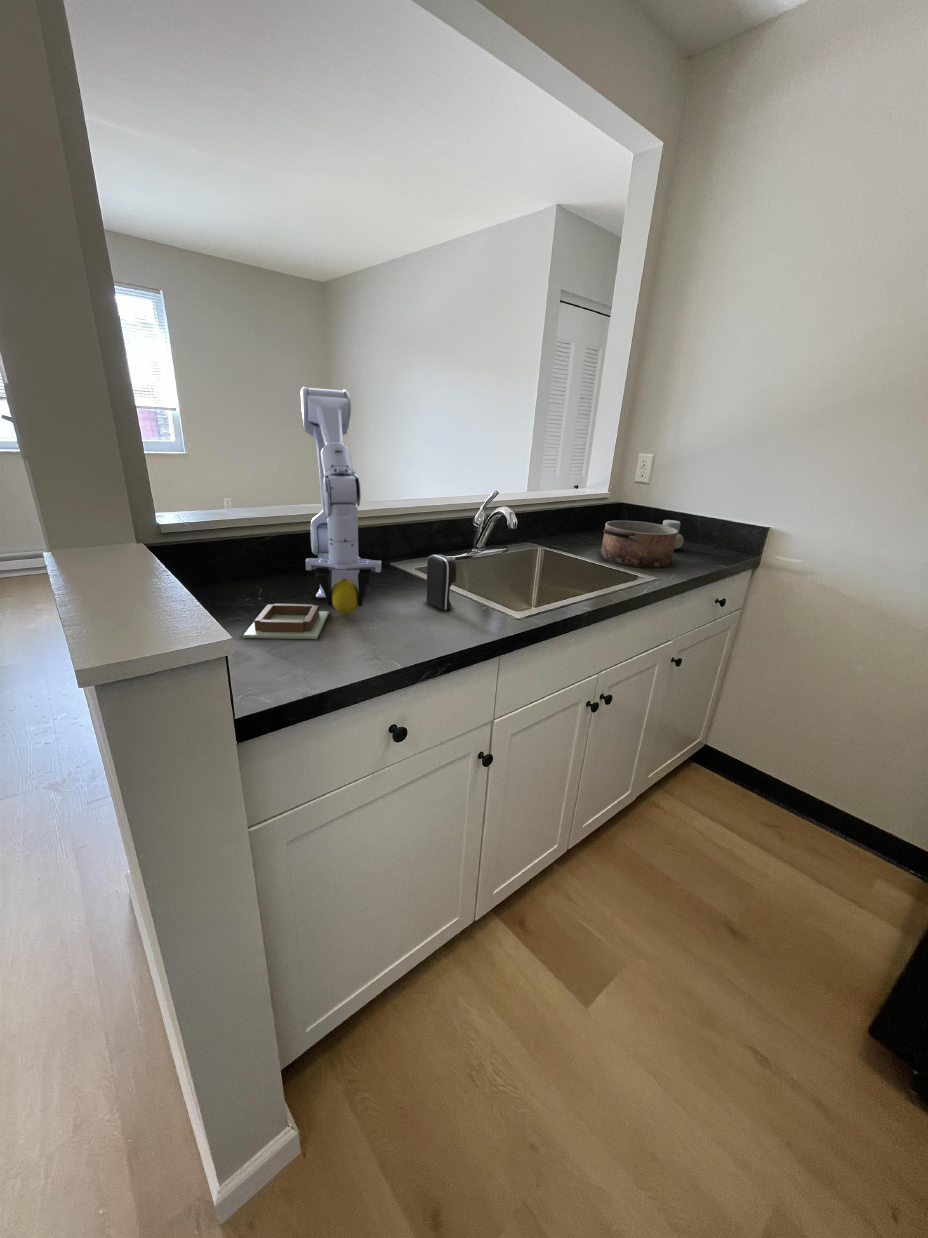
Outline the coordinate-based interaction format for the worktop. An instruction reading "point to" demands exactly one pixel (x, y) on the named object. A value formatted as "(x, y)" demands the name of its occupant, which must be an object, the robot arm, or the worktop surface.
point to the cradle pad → (288, 622)
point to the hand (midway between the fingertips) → (345, 604)
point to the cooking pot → (638, 543)
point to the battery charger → (440, 580)
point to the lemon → (345, 596)
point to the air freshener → (679, 538)
